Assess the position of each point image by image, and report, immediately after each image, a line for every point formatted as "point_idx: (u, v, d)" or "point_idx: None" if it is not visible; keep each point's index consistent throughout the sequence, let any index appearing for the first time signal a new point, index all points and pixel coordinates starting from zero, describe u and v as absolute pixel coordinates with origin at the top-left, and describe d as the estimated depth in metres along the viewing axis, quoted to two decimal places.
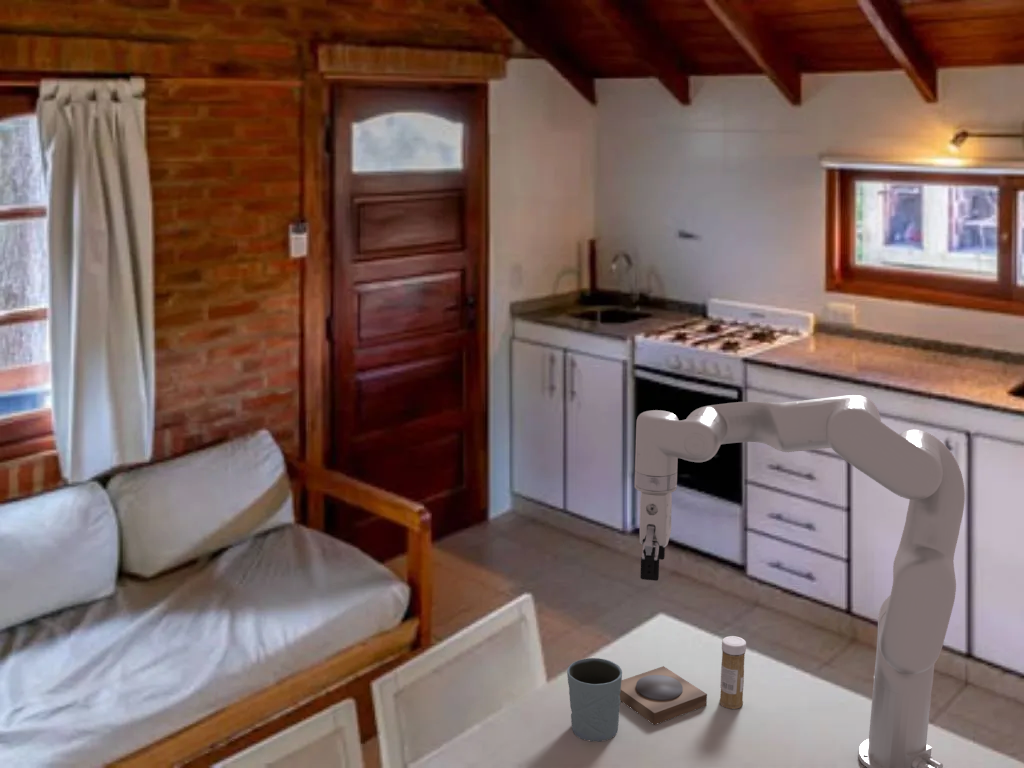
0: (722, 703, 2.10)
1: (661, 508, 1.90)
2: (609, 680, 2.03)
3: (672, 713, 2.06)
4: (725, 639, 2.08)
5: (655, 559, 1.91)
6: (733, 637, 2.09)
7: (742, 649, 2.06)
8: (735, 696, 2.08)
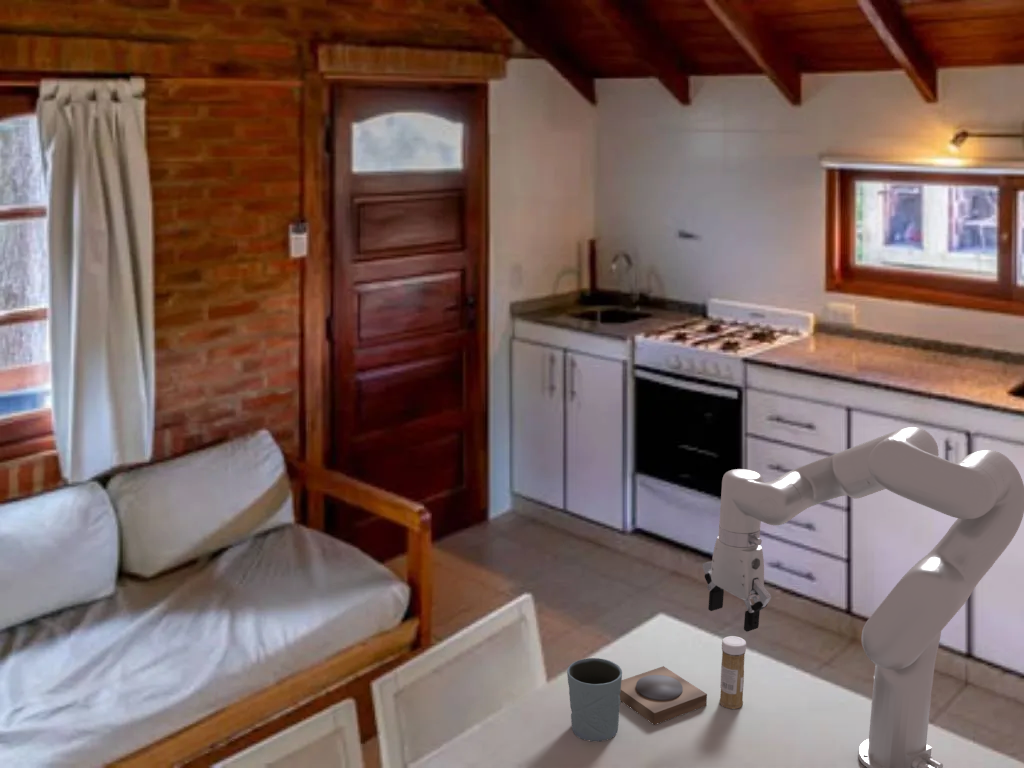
0: (722, 703, 2.10)
1: (762, 560, 2.01)
2: (609, 680, 2.03)
3: (672, 713, 2.06)
4: (725, 639, 2.08)
5: (761, 609, 2.02)
6: (733, 637, 2.09)
7: (742, 649, 2.06)
8: (735, 696, 2.08)
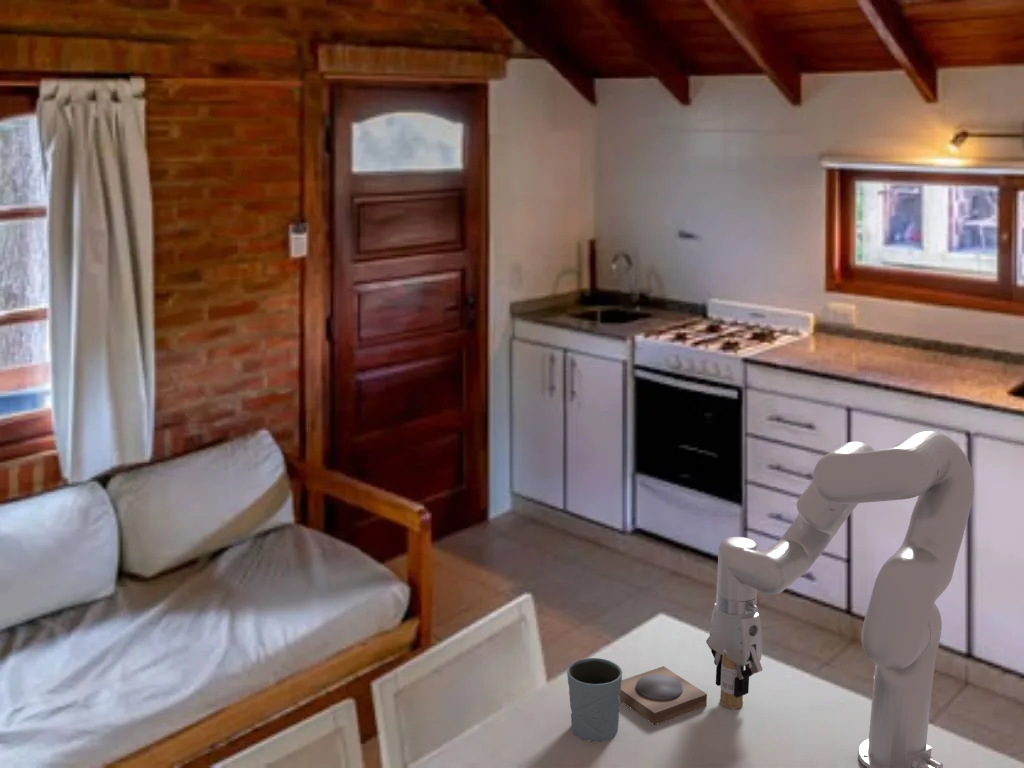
0: (722, 703, 2.10)
1: (759, 627, 2.04)
2: (609, 680, 2.03)
3: (672, 713, 2.06)
4: None
5: None
6: None
7: None
8: None
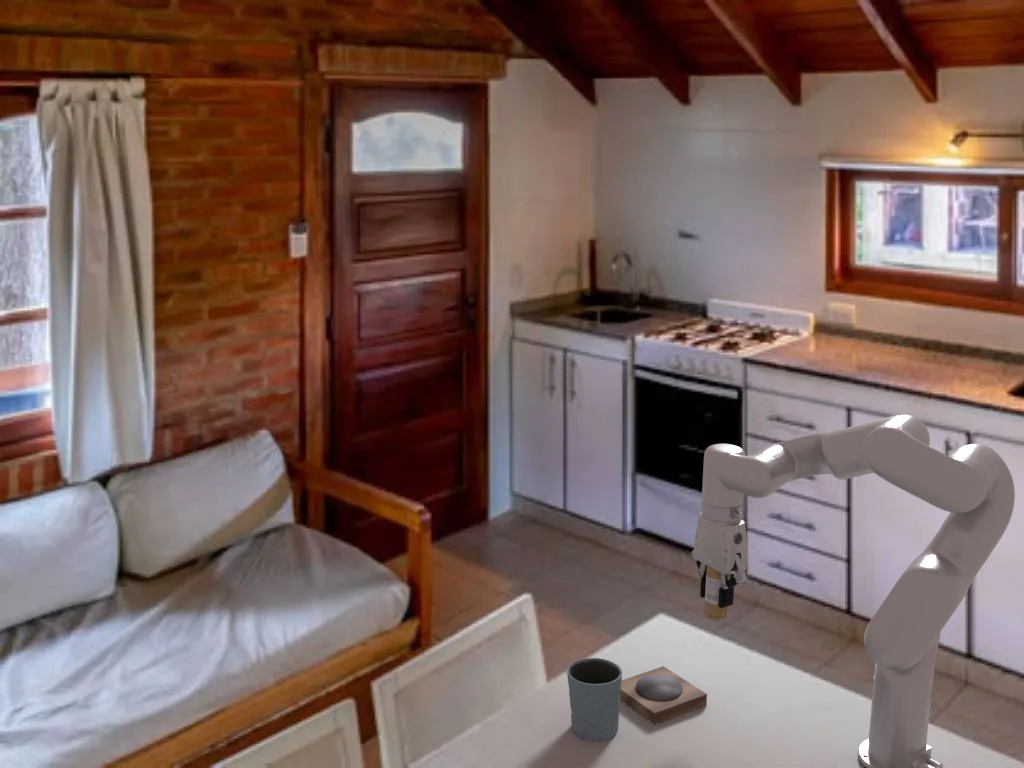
0: (706, 615, 2.06)
1: (744, 535, 2.00)
2: (609, 680, 2.03)
3: (672, 713, 2.06)
4: None
5: (734, 586, 2.03)
6: None
7: None
8: None
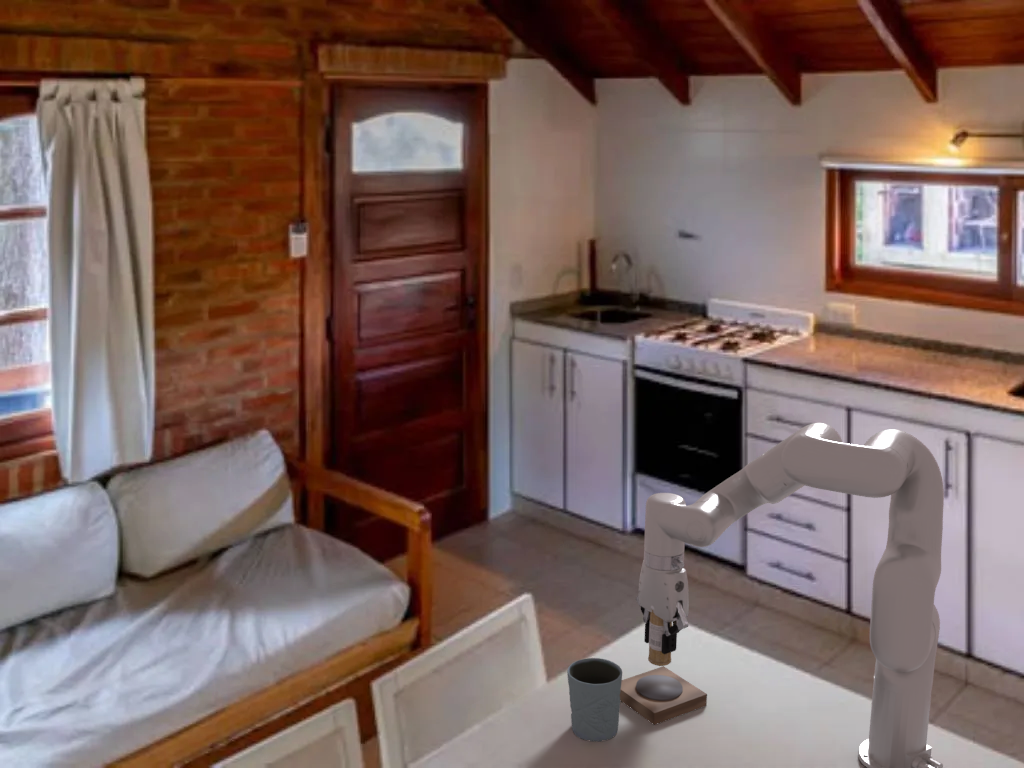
0: (650, 660, 2.09)
1: (686, 583, 2.03)
2: (609, 680, 2.03)
3: (672, 713, 2.06)
4: None
5: (677, 632, 2.06)
6: None
7: None
8: None
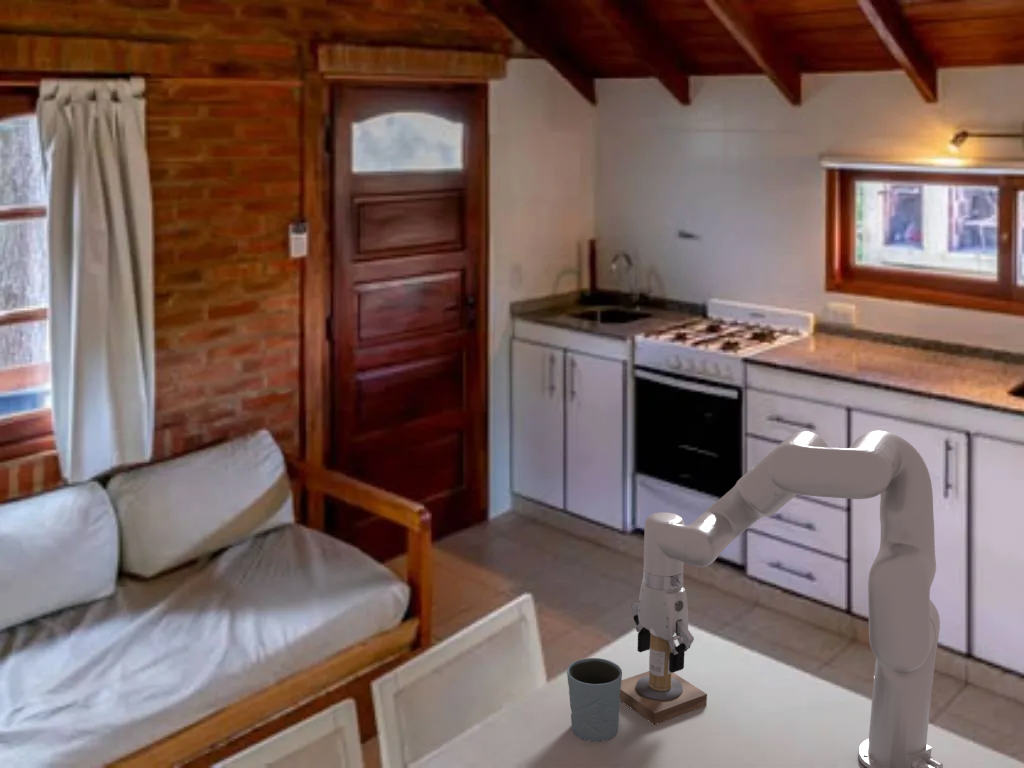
0: (650, 685, 2.11)
1: (685, 602, 2.04)
2: (609, 680, 2.03)
3: (672, 713, 2.06)
4: None
5: (685, 650, 2.05)
6: None
7: None
8: (663, 678, 2.09)
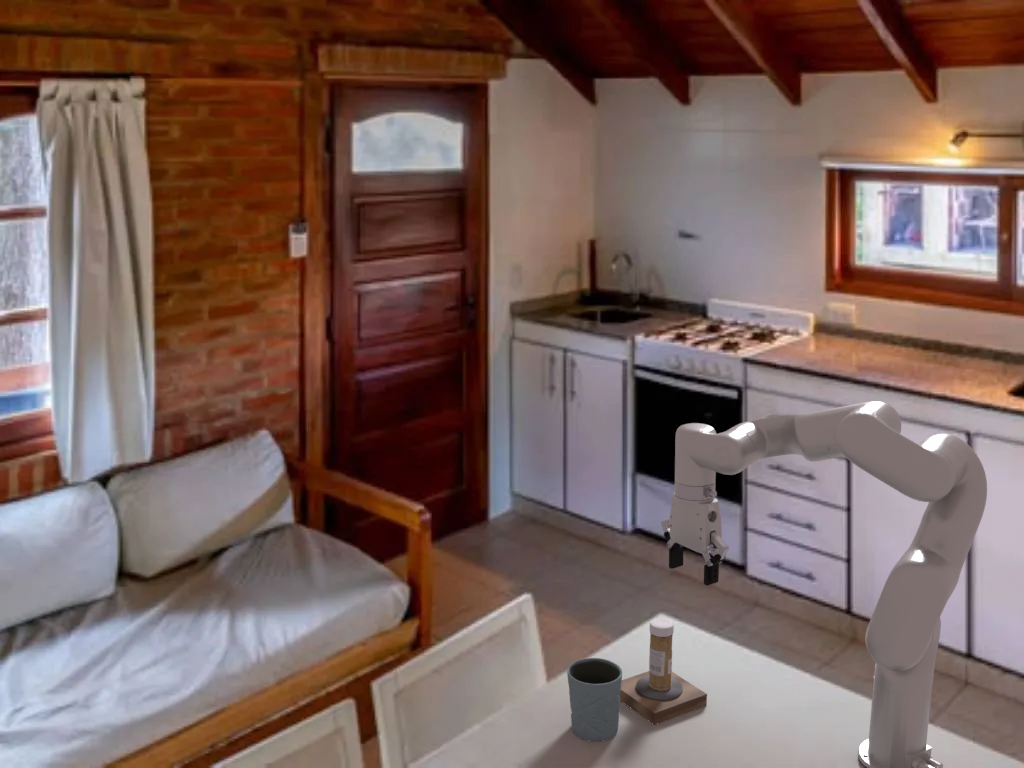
0: (650, 685, 2.11)
1: (718, 513, 2.01)
2: (609, 680, 2.03)
3: (672, 713, 2.06)
4: (653, 621, 2.09)
5: (720, 562, 2.02)
6: (661, 619, 2.10)
7: (669, 631, 2.07)
8: (663, 678, 2.09)
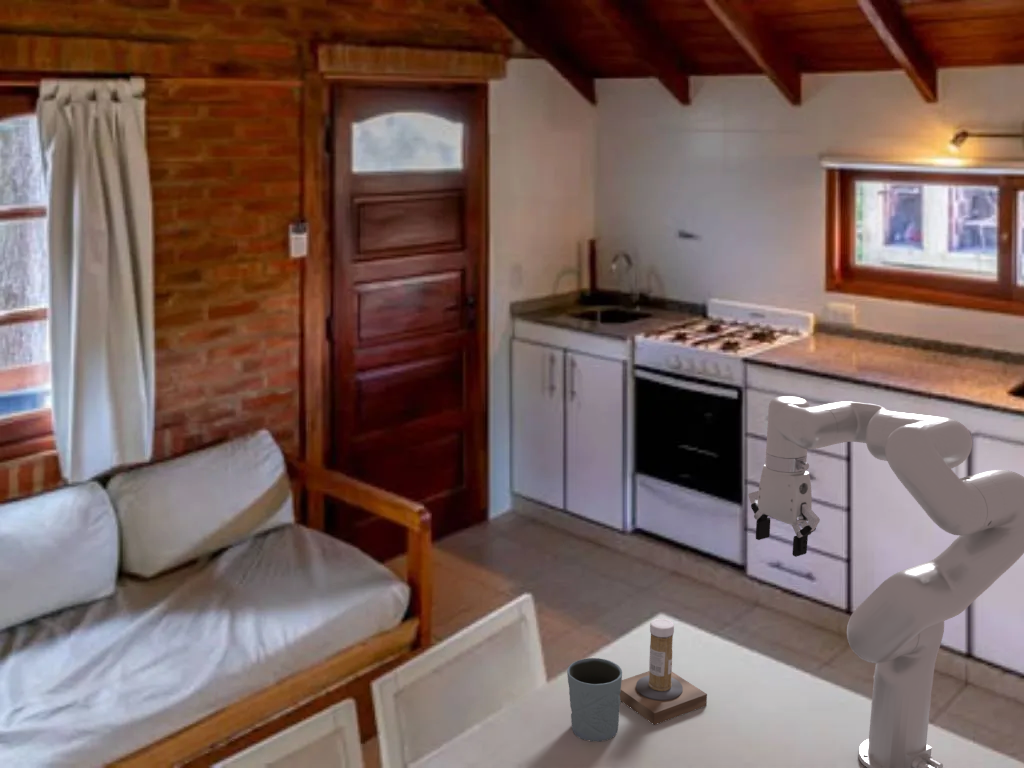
0: (650, 685, 2.11)
1: (809, 485, 2.03)
2: (609, 680, 2.03)
3: (672, 713, 2.06)
4: (653, 621, 2.09)
5: (809, 533, 2.04)
6: (662, 619, 2.10)
7: (669, 631, 2.07)
8: (663, 678, 2.09)
